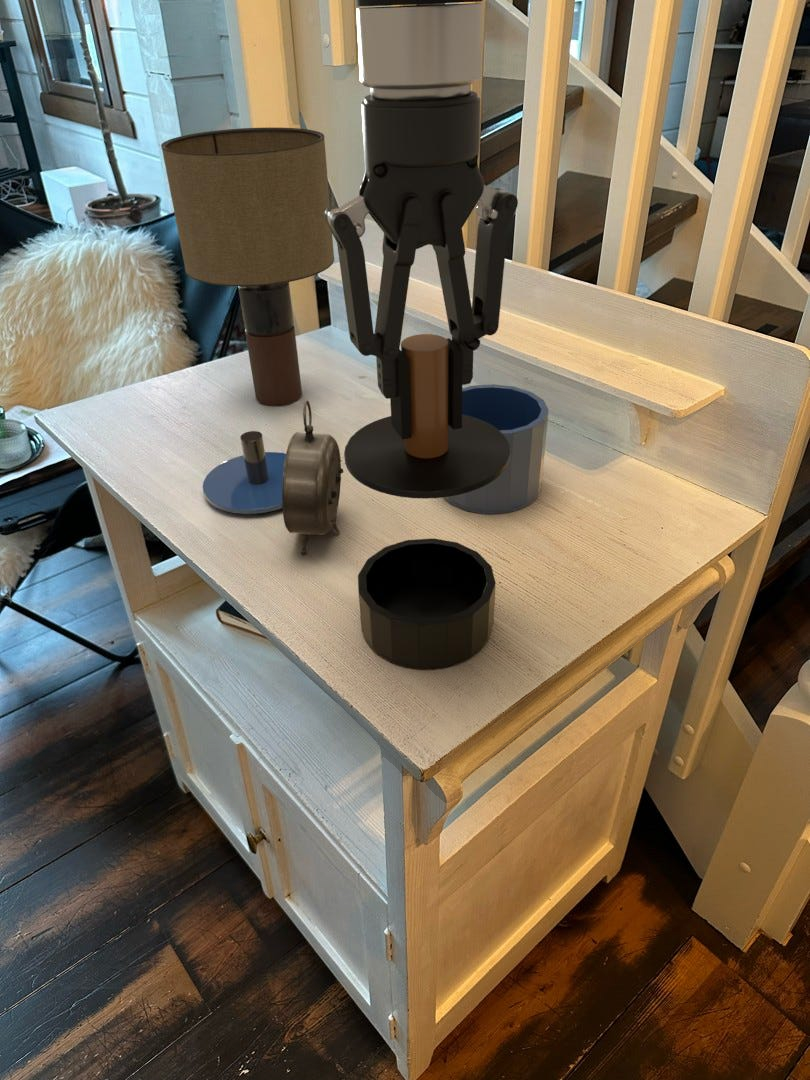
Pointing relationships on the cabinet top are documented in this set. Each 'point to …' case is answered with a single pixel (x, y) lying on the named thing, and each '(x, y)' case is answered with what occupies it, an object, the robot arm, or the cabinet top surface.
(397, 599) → the pan
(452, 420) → the robot arm
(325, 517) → the alarm clock
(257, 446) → the pot lid
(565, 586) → the cabinet top surface
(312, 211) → the lamp
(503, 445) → the lid
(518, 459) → the pot
